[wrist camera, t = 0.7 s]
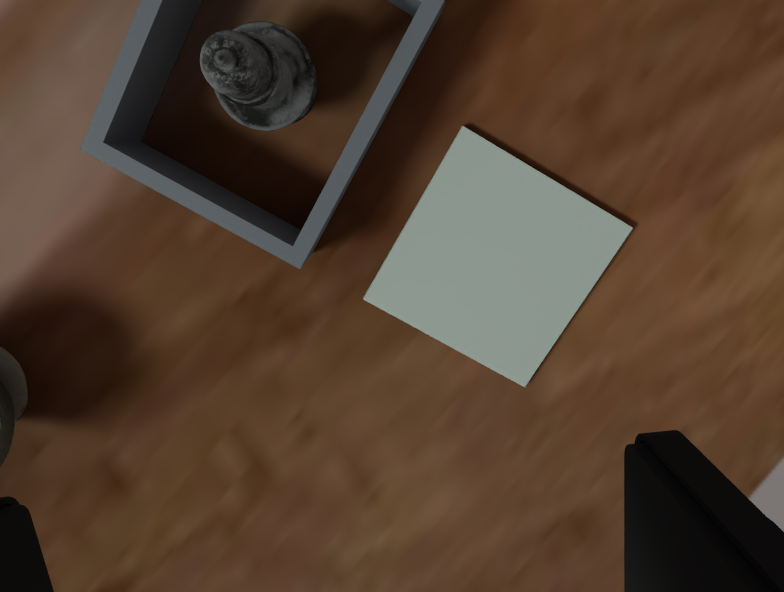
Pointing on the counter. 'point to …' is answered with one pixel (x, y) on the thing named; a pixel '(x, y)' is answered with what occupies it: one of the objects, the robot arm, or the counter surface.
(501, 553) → the counter surface
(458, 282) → the mat
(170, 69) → the crate
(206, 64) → the stone chess piece
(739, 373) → the counter surface
